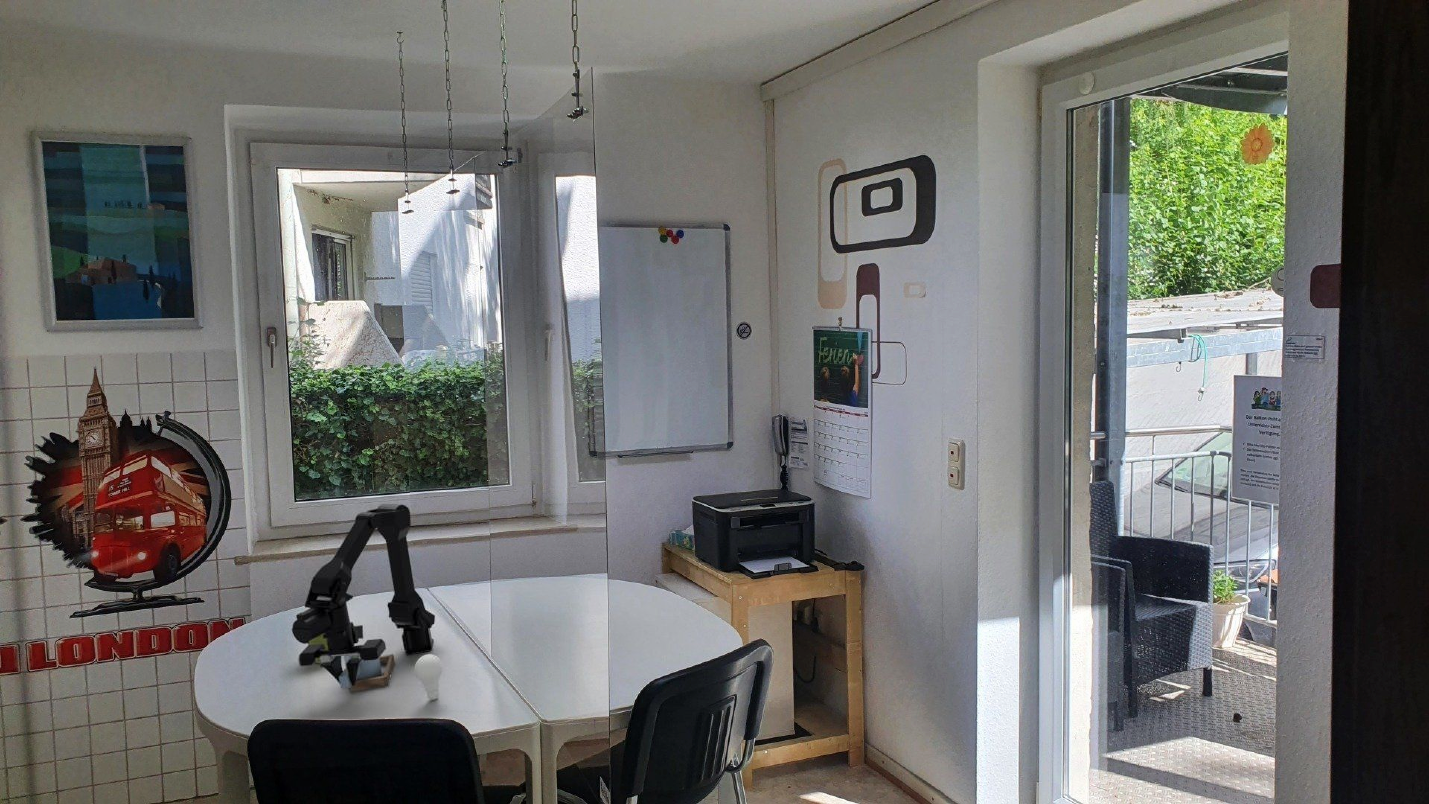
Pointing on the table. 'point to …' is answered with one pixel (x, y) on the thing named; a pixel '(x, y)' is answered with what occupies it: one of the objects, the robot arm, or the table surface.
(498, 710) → the table surface
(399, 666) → the table surface
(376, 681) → the holder
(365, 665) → the blue scoop
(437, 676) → the lightbulb
